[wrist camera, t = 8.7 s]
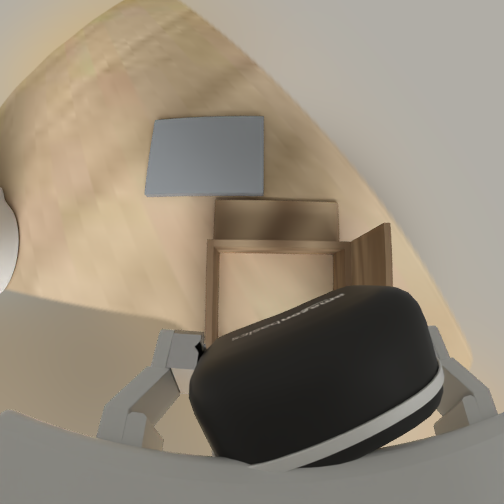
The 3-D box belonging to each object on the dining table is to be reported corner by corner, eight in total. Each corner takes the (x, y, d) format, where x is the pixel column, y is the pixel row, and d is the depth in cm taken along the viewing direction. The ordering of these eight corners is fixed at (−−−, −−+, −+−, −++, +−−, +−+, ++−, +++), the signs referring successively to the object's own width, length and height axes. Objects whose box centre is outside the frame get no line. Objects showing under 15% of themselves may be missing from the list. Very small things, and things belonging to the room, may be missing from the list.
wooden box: (212, 389, 31) (188, 439, 18) (215, 201, 33) (194, 150, 21) (339, 388, 30) (381, 433, 18) (341, 203, 33) (383, 157, 21)
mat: (147, 197, 33) (144, 194, 32) (157, 124, 35) (155, 120, 34) (263, 195, 33) (263, 193, 32) (263, 120, 35) (263, 116, 34)
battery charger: (328, 281, 18) (439, 259, 6) (350, 341, 17) (474, 396, 6) (214, 327, 17) (148, 381, 6) (239, 386, 17) (218, 511, 5)
